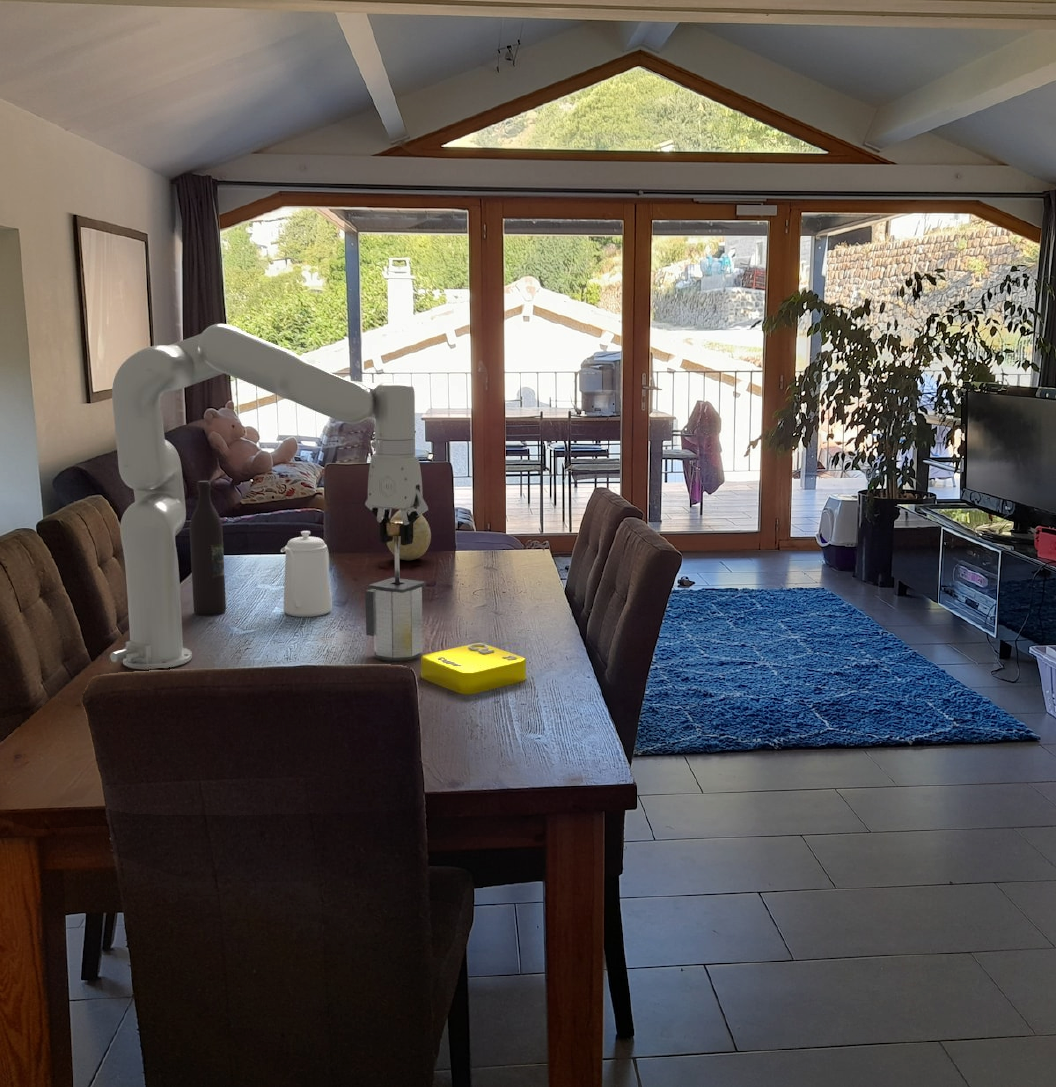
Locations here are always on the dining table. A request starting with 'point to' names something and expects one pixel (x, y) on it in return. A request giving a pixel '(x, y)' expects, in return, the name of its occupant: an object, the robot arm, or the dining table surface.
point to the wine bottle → (207, 556)
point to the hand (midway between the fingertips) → (396, 542)
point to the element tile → (473, 668)
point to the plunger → (395, 544)
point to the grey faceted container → (395, 619)
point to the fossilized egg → (419, 539)
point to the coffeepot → (306, 577)
